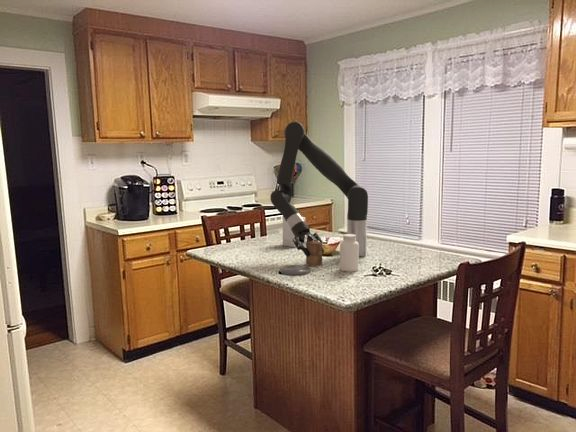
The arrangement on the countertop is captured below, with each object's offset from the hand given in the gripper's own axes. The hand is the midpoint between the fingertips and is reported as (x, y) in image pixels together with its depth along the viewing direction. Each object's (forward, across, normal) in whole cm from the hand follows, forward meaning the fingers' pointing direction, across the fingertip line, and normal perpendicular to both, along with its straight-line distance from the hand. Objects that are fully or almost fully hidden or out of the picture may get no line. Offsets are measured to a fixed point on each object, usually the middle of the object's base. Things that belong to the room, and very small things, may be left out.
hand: (316, 254), depth 211 cm
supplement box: (-23, +22, +30) cm, 44 cm away
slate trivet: (+4, -14, +2) cm, 15 cm away
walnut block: (+3, 0, +4) cm, 5 cm away
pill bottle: (+14, +4, -7) cm, 17 cm away
